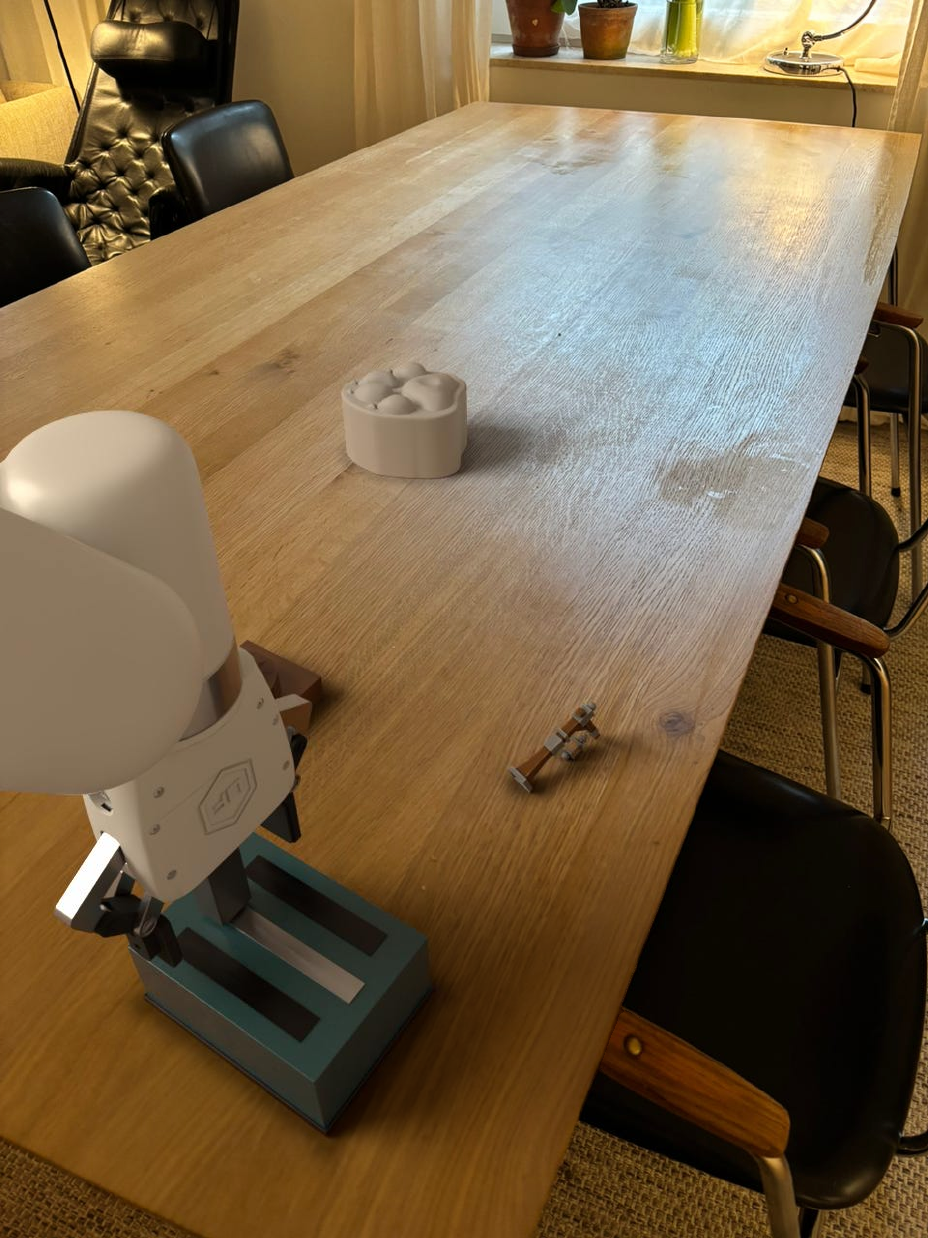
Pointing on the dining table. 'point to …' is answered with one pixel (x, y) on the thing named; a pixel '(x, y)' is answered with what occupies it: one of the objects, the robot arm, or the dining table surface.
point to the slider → (224, 890)
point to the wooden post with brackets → (558, 745)
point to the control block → (285, 675)
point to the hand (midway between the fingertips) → (222, 887)
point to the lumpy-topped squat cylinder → (406, 422)
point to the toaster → (293, 983)
